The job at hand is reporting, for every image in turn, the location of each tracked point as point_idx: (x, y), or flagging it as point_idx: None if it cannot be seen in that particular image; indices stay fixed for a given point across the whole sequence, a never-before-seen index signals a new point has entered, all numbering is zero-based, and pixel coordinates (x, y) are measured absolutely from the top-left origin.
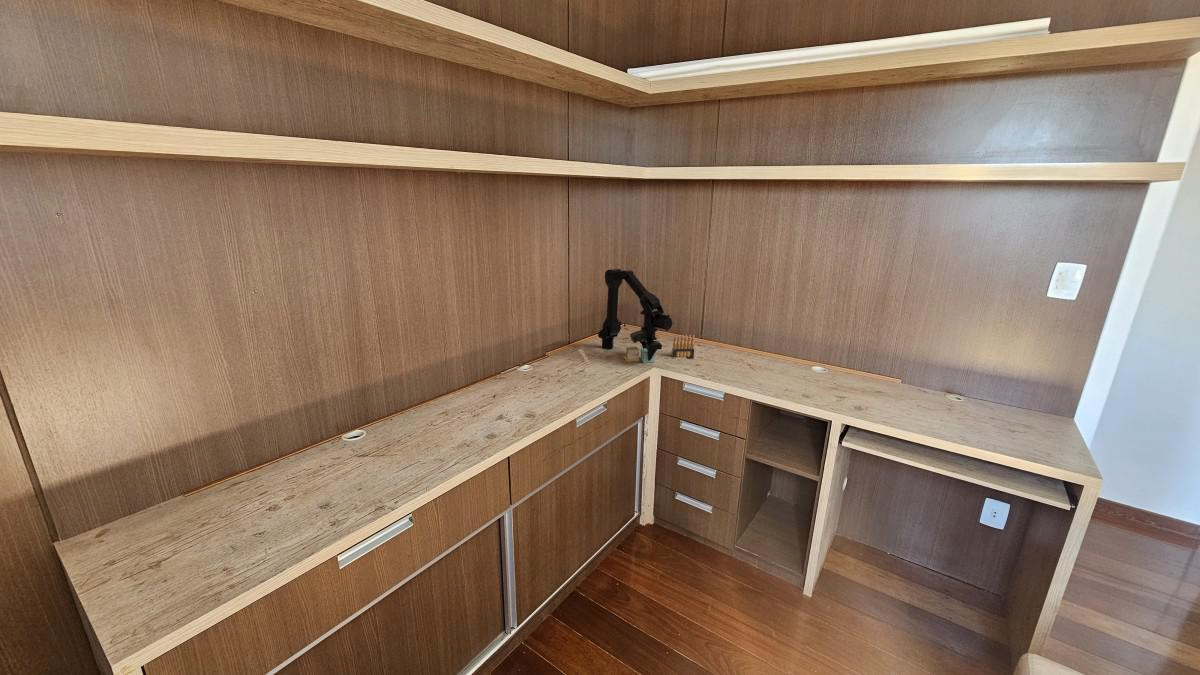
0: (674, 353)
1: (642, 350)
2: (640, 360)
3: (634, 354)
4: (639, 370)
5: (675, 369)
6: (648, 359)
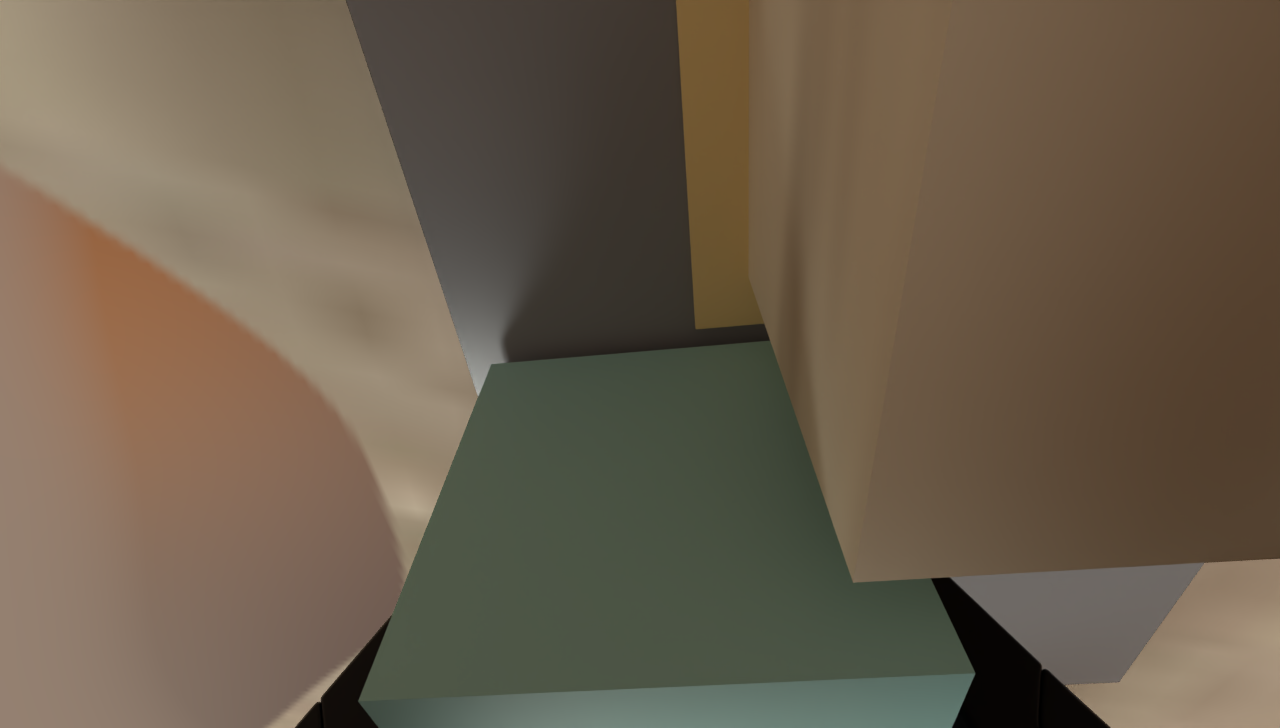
0: None
1: (696, 668)
2: (715, 317)
3: (798, 176)
4: (46, 126)
5: None
6: None
